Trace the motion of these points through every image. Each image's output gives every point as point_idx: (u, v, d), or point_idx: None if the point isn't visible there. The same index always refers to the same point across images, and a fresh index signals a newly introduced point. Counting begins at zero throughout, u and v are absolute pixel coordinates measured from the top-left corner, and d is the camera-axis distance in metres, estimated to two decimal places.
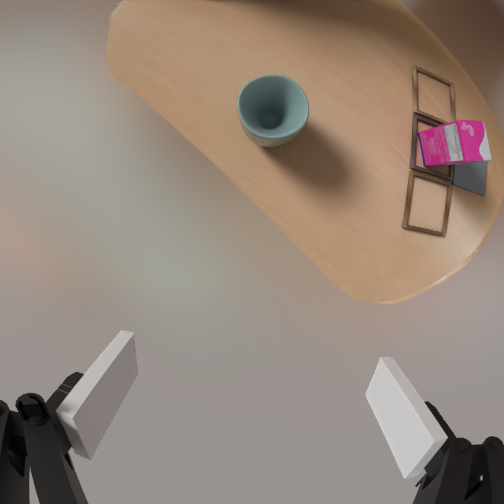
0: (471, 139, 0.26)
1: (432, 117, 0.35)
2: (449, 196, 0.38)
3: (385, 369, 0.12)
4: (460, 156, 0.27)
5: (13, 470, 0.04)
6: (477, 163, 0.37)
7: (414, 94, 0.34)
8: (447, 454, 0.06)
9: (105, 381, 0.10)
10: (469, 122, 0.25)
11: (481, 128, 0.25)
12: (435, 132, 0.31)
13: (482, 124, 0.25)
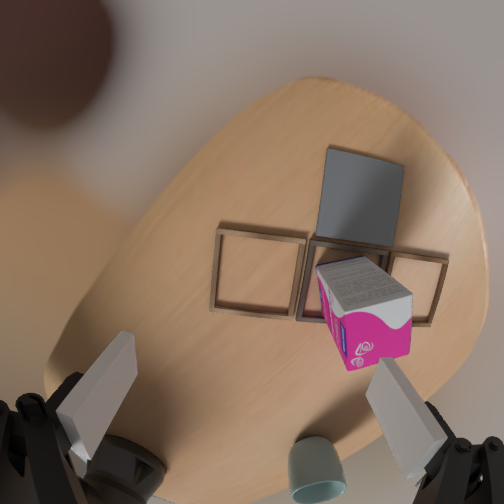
0: (379, 348, 0.19)
1: (296, 288, 0.29)
2: (407, 256, 0.29)
3: (385, 369, 0.12)
4: None
5: (13, 470, 0.04)
6: (357, 182, 0.27)
7: None
8: (447, 454, 0.06)
9: (105, 381, 0.10)
10: (350, 349, 0.19)
11: (358, 319, 0.19)
12: None
13: (351, 316, 0.19)
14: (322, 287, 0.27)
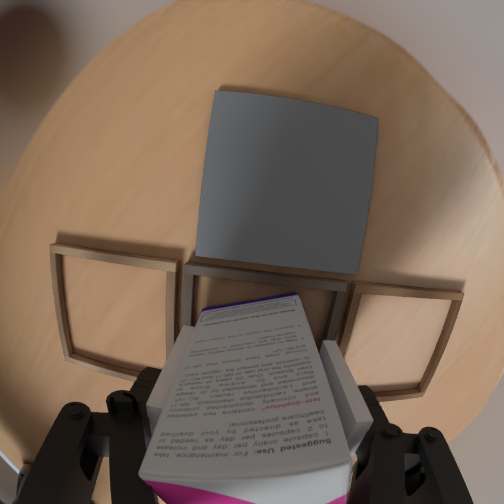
0: None
1: (171, 345, 0.16)
2: (388, 292, 0.15)
3: (325, 351, 0.14)
4: None
5: (82, 475, 0.05)
6: (276, 149, 0.14)
7: (131, 379, 0.17)
8: (374, 442, 0.08)
9: None
10: None
11: (181, 494, 0.05)
12: None
13: (157, 486, 0.05)
14: None
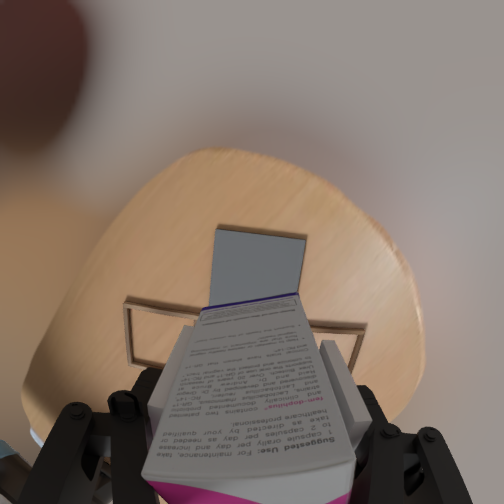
0: None
1: None
2: None
3: (324, 351, 0.14)
4: None
5: (83, 475, 0.05)
6: (248, 262, 0.29)
7: None
8: (372, 442, 0.08)
9: None
10: None
11: (184, 494, 0.05)
12: None
13: (160, 486, 0.05)
14: None
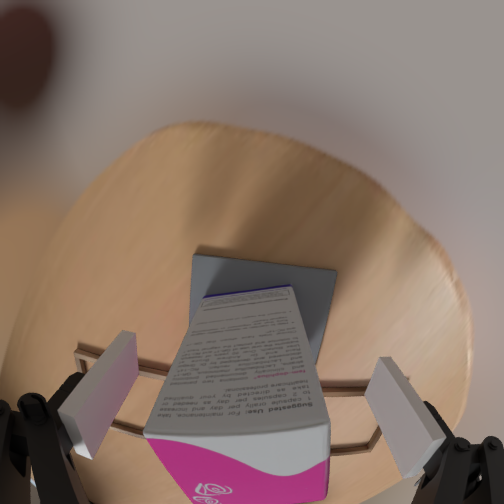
0: (247, 493, 0.07)
1: None
2: (334, 395, 0.19)
3: (384, 369, 0.12)
4: None
5: (15, 470, 0.04)
6: None
7: None
8: (446, 454, 0.06)
9: (107, 381, 0.10)
10: (183, 485, 0.07)
11: (179, 452, 0.07)
12: None
13: (159, 444, 0.07)
14: None
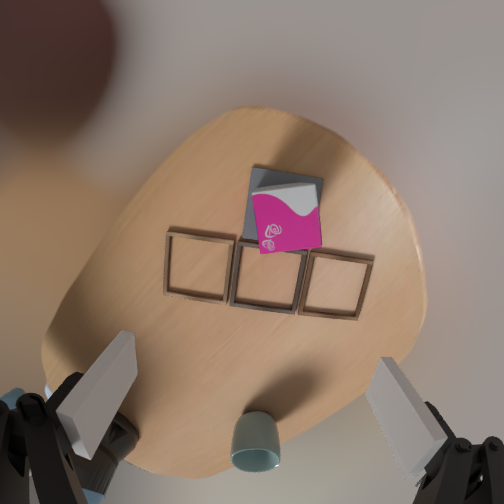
0: (287, 233, 0.25)
1: (227, 279, 0.38)
2: (327, 256, 0.36)
3: (385, 369, 0.12)
4: None
5: (13, 470, 0.04)
6: None
7: (203, 300, 0.39)
8: (447, 454, 0.06)
9: (105, 381, 0.10)
10: (260, 230, 0.25)
11: (264, 200, 0.24)
12: None
13: (257, 197, 0.24)
14: None
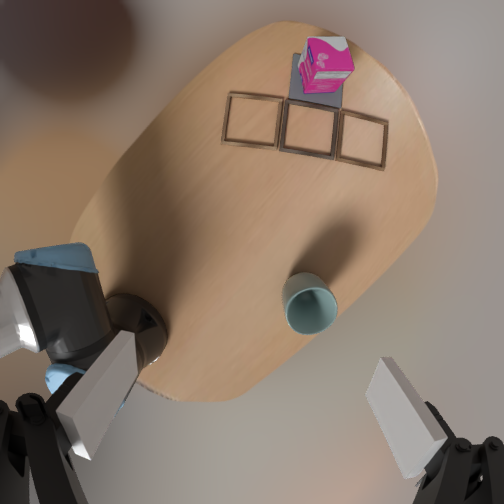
0: (332, 58, 0.30)
1: (278, 128, 0.43)
2: (353, 114, 0.42)
3: (385, 369, 0.12)
4: (347, 72, 0.31)
5: (14, 470, 0.04)
6: None
7: None
8: (447, 454, 0.06)
9: (105, 381, 0.10)
10: (314, 56, 0.30)
11: (315, 41, 0.29)
12: (313, 84, 0.36)
13: (311, 39, 0.29)
14: (300, 65, 0.37)
